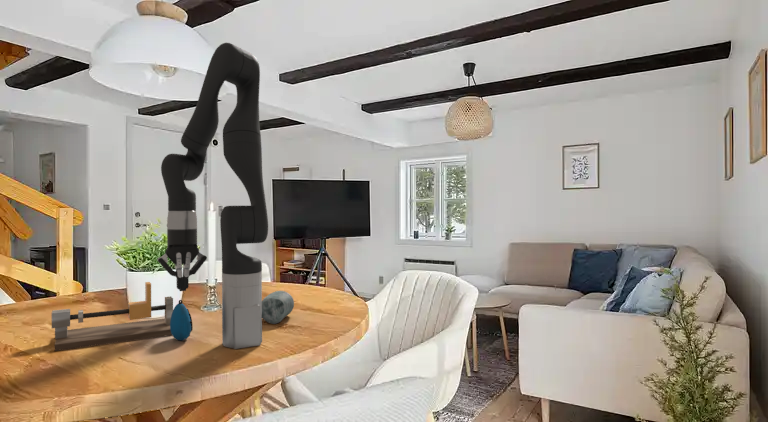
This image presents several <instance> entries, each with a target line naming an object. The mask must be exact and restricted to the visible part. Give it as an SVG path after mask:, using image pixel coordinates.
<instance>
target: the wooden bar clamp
mask: <svg viewBox="0 0 768 422" xmlns="http://www.w3.org/2000/svg"><path fill="white" fill-rule="evenodd" d="M173 310H174V298H173V296H170V295H169V296H164V304H163V305H162V304H160V305H154V306H153V305H151V312H155V311H164V318H158V319H157V318H156V319H148V320H140V321H133V322H124V323H123V322H122V323H117V324H116V323H115V324H106V325H97V326H90V327H82V328H72V329H68V327H71V320H78V324H81V323H84V319H90V318H91V319H92V318H99V317H111V316H116V315H117V316H119V315H128V314H129V309H128V308H122V309H115V310H105V311H97V312H85V313H84V309H78V311H77V312H78V313H76V314H71V308H65V309H54V310H52V311H51V329H54V339H55V342H54V352H59V351H65V350H74V349H80V348H87V347H96V346H102V345H109V344H116V343H125V342H131V341H138V340H139V341H140V340H145V339H152V338H153V339H154V338H161V337H168V336H169V337H170V336H173V335H172V334H171V330H170V320H171V315H172V312H173Z"/></svg>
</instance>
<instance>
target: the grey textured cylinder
mask: <svg viewBox="0 0 768 422" xmlns="http://www.w3.org/2000/svg"><path fill="white" fill-rule="evenodd" d="M294 307H295V301H294V298H293V296H292V295H291V294H290V293H289V292H287V291H285V290H276V291H273V292H271V293H269V294H268V295H266V296H265V297H264V298H262V320H264V321H265V322H266V323H268V324H271V325H272V324H273V325H276V324H279V323H280V322H282V321H283V320H284V318H286V317H287V316H289V315H290V314H291V313H292V311H293V310H294Z"/></svg>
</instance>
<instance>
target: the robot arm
mask: <svg viewBox="0 0 768 422" xmlns="http://www.w3.org/2000/svg"><path fill="white" fill-rule="evenodd" d="M260 67H261V66H260V63H259V60H258V58H257V57H256V56H255V55H254V54H252V53H250V52H248V51H247V50H245V49H242V47H239V46H237V45H236V44H232V42H231V43H230V42H224V43H221V44H220V45H219V46H217V47H216V49H215V51H214V52H213V54H212V57H211V59H210V61H209V64H208V68H207V71H206V73H205V77H204V79H203V83H202V86H201V89H200V93H199V96H198V99H197V103H196V106H195V108H194V111H193V112H192V116H191V117H190V120H189V121H188V123H187V125H186V128H185V129H184V132H183V134H182V136H181V137H180V138H181V139H180V144H181V145H182V146H183V147H184V148H185V149H187V151H186V154H180V153H169V154H167V155H166V156H164V158H163V159H162V162H161V166H160V171H161V177H162V179H163V183H164V186H165V191H166V194H167V210H168V211H167V218H166V219H167V220H166V221H167V223H166V227H167V228H166V229H167V230H166V238H167V241H166V243H167V247H166V249H165V251H164V252H165V253H164V254H163V255H162V256H159V257H157V259H156V260H157V262H158V263H159V264H160V265H161V266H162V267H163V269H164V270H165V271H166V272H167V273H168V274H169V275H170V276H172V277H175V278H176V289H177V290H179V292H186V291H187V289H189V282H190V281H189V277H190V276H192V275H196V273H197V272H198V271H199V270H200V268H201V267H202V266H203V264H204V263H205V262H206V260H207V259H208V257H207V256H206V255H205V254H202V253H201V252H200V248H199V247H198V217H197V216H198V215H197V196H196V192H195V191H194V190H192V189H189V188H187V186H186V183H185V182H189V181H190V182H191V181H195V180H196V179H198V178H199V177H200V176H201V175H202V172H203V170H204V167H205V163H206V158H207V151H208V148H209V146H210V145H211V142H212V141H213V139H214V137H215V134H216V132H217V129H218V127H219V95H220V91H221V89H222V87H223V84H224V82H227V83H229V84H232V85H234V86H235V88H236V105H235V107H234V109H233V111H232V112H231V113H230V115H229V117H228V118H227V120H226V122H225V124H224V126H223V129H222V147H223V156H224V159H225V161H226V163H227V165H228V166H229V167H230V168H231V169H232V171H233V173H234V174H235V175H236V177H237V178H238V179H239V181H241V183H242V185H243V188H245V191H246V192H247V195H248V198H249V202H250V205H226V206H224V207H223V209H221V212H220V218H219V219H220V220H219V221H220V222H219V223H220V224H219V225H220V239H221V240H220V241H221V300H222V301H221V319H222V321H221V323H222V325H221V326H222V327H221V328H222V329H221V330H222V332H221V333H222V334H221V336H222V338H221V339H222V342H221V343H222V346H223V347H226V348H231V349H234V350H237V349H246V348H251V347H256V346H257V347H258V346H261V344H262V342H263V319H262V300H263V297H262V296H263V290H262V289H263V286H262V285H263V282H262V281H263V274H262V270H263V269H262V268H263V267H262V266H263V263H262V260H261V259H260V258H257V257H253V256H250V255H247V254H244V253H243V252H241V251H240V250H239V249H238V247H237V245H239V244H240V245H241V244H242V245H243V244H245V245H246V244H261V243H264V242H265V241H266V240H267V238H268V233H269V217H268V210H267V203H266V201H267V200H266V195H265V189H264V180H263V177H264V176H263V156H262V155H263V154H262V153H263V151H262V149H263V147H262V137H261V135H262V134H261V125H260V124H261V123H260V81H261V80H260V79H261V72H260V71H261V69H260ZM168 259H169V260H170V261H171V263H172V264H174V267H175V270H173V268H172V267H171V266H170V265H169V264H168V262H169V260H168ZM195 259H196V260H197V261H196V262H195V263H194V265H193V266H192V267H191V264H192V263H193V262H194V260H195Z"/></svg>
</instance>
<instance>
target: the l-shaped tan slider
mask: <svg viewBox="0 0 768 422" xmlns="http://www.w3.org/2000/svg"><path fill="white" fill-rule="evenodd" d="M144 285H145V287H144V289H145V291H144V295H145V298H144V300H140V301H130V302H128V305H127V306H128V307H127V309H129V314H127V315H128V319H129V321H131V320H140V319H149V318H152V311H151V306H152V283H151V282H150V281H145V282H144Z"/></svg>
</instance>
